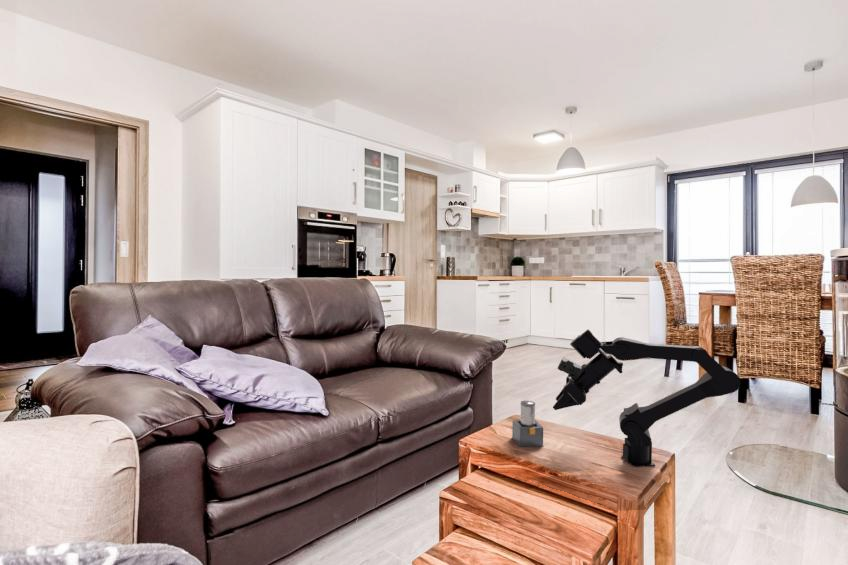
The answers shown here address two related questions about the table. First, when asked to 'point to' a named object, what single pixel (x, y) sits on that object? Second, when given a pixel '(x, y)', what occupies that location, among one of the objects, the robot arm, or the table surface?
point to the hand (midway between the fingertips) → (555, 404)
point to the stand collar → (527, 434)
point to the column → (527, 414)
